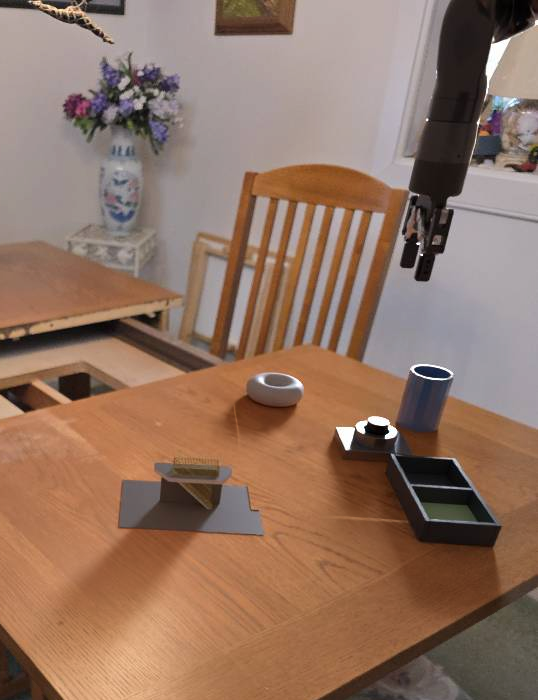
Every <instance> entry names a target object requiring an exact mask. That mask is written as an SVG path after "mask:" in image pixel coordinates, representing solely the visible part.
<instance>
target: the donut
mask: <svg viewBox="0 0 538 700" xmlns="http://www.w3.org/2000/svg"><path fill="white" fill-rule="evenodd" d="M245 387H246V388H245V390H246V394H247V396H248V397H249V398H250V399H251V400H252V401H254V402H255V403H258V404H260V405H264V406H268V407H274V408H275V407H276V408H283V407H284V408H285V407H286V408H287V407H292V406H294V405H296V404H298V403H300V401H301V400H302V399H303V398H304V395H305V389H304V384H302V382H301V381H299V379H297V378H295V377H294V376H291V375H289V374H285V373H281V372H262V373H261V372H260V373H257V374H255V375H252V376H251V377H250V378H249V379H248V381H246V386H245Z"/></svg>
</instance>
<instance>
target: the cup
mask: <svg viewBox="0 0 538 700" xmlns="http://www.w3.org/2000/svg"><path fill="white" fill-rule="evenodd" d="M454 378H455V374H454V373H453V372H452V371H451V370H449V369H447V368H444V367H441V366H437V365H432V364H415V365H413V366H411V367H410V369H409V372H408V376H407V379H406V383H405V387H404V390H403V393H402V397H401V402H400V405H399V409H398V412H397V416H396V420H395V422H396V423H397V425H398V426H399V427H400V426H401V427H402V428H404V429H405V430H408V431H412V432H415V433H416V432H417V433H425V434H426V433H434V432H435V431H437V430H438V429H439V426H440V423H441V420H442V416H443V413H444V411H445V408H446V405H447V401H448V398H449V394H450V391H451V387H452V385H453V381H454Z"/></svg>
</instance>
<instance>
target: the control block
mask: <svg viewBox="0 0 538 700" xmlns="http://www.w3.org/2000/svg"><path fill="white" fill-rule="evenodd" d="M366 424H367V420H364V421H359V422H357V423H356V424H355V426H354V427H344V426H343V427H341V426H339V427H338V426H335V429H334V434H333V438H334V440H335V443H336V446H337V448H338V450H339V452H340V453H339V454H340V456H341V458H342V460H343V461H354V462H369V463H382V464H383V463H384V464H388V460H389V456H390V454H399V455H414V452H413V451H412V449H411V448H410V446H409V444H408V443H407V441H406V439H405V437H404V436H403V434H402V432H401V431H400V430H397V429H396V427H393V426H391V425H390V424H389V428H388V431H387V434H386V435H375V434H371V433H368V432H367V431H365V428H366ZM414 456H415V455H414Z"/></svg>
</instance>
